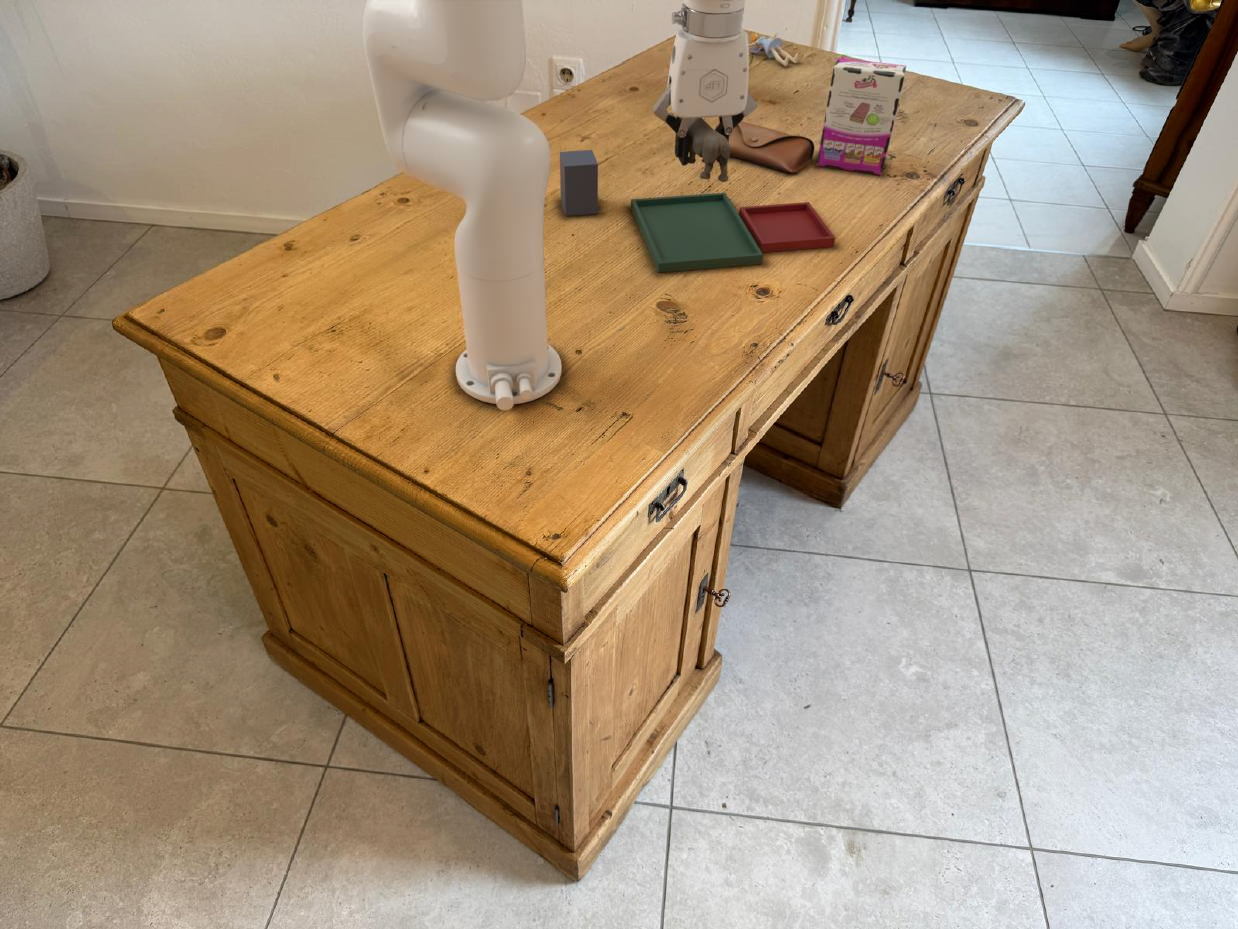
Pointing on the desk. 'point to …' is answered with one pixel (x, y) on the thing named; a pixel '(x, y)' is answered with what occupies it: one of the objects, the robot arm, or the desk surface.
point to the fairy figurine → (772, 48)
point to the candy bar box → (860, 115)
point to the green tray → (694, 232)
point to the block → (579, 182)
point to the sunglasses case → (770, 147)
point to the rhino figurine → (708, 148)
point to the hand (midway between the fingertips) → (700, 158)
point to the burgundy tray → (786, 227)
